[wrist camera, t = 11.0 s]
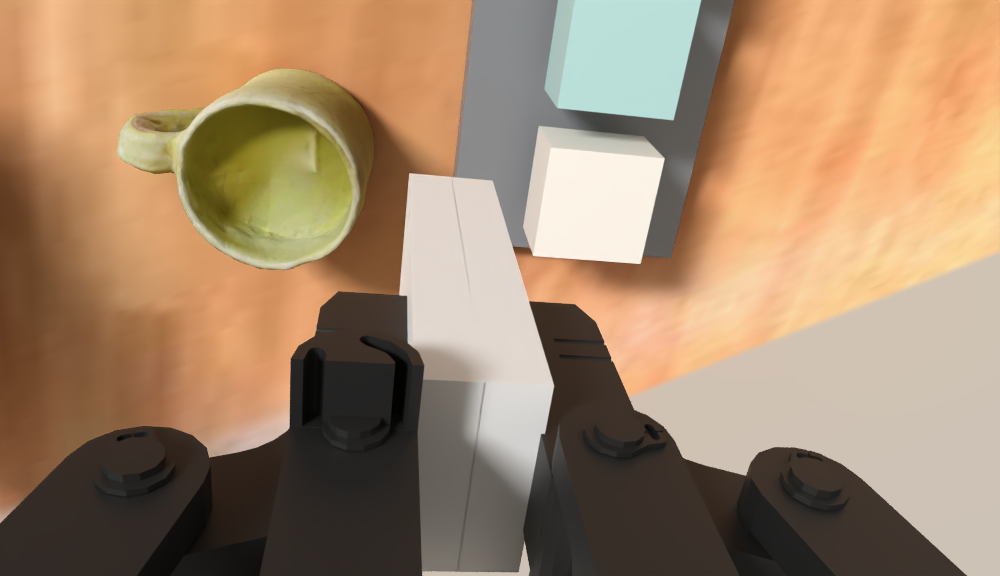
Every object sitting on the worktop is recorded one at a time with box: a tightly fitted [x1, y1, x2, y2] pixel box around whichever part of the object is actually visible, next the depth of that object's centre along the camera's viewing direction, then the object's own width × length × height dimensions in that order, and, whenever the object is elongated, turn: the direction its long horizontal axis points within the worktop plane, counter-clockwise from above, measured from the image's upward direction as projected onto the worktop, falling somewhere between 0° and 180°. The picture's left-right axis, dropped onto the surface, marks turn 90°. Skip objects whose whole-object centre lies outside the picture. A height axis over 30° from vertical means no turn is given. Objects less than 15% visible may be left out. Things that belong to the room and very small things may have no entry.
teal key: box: [544, 0, 701, 120], centre depth 40 cm, size 6×6×4 cm
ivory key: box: [523, 126, 665, 264], centre depth 43 cm, size 6×6×4 cm
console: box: [453, 0, 735, 258], centre depth 42 cm, size 14×26×5 cm, turn 173°
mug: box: [117, 69, 374, 270], centre depth 42 cm, size 12×10×10 cm
